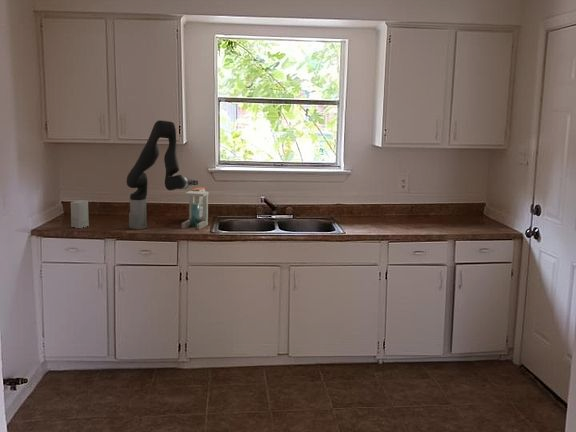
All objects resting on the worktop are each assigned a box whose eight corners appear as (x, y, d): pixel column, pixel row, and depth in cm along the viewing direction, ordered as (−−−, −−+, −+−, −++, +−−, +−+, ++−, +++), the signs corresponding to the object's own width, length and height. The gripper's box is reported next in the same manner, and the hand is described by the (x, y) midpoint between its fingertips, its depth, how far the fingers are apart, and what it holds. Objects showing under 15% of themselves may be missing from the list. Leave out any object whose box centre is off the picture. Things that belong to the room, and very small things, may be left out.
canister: (195, 227, 354) (195, 204, 352) (189, 226, 357) (189, 203, 354) (201, 226, 359) (201, 203, 356) (194, 225, 361) (194, 202, 359)
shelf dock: (200, 229, 348) (200, 195, 345) (180, 228, 350) (180, 194, 347) (208, 224, 364) (208, 191, 360) (190, 223, 366) (190, 190, 362)
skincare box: (80, 225, 348) (80, 199, 346) (89, 226, 346) (88, 200, 343) (70, 227, 341) (69, 201, 338) (79, 229, 338) (78, 202, 336)
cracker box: (199, 222, 370) (199, 189, 366) (190, 221, 371) (190, 189, 368) (206, 218, 384) (207, 187, 380) (198, 218, 385) (198, 186, 381)
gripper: (194, 176, 324) (199, 176, 341) (168, 175, 325) (175, 175, 341) (194, 189, 325) (199, 189, 341) (168, 189, 325) (175, 188, 342)
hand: (187, 182), depth 341 cm, fingers open, 8 cm apart
